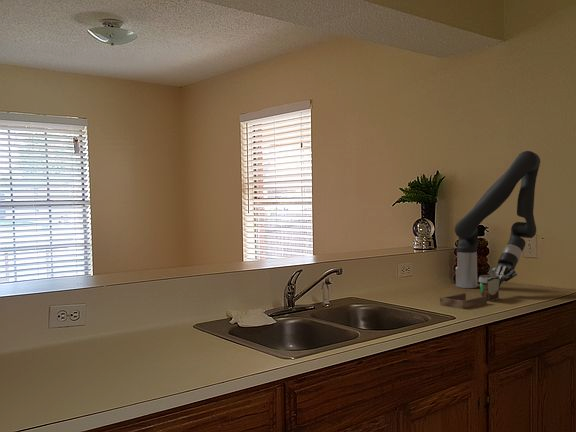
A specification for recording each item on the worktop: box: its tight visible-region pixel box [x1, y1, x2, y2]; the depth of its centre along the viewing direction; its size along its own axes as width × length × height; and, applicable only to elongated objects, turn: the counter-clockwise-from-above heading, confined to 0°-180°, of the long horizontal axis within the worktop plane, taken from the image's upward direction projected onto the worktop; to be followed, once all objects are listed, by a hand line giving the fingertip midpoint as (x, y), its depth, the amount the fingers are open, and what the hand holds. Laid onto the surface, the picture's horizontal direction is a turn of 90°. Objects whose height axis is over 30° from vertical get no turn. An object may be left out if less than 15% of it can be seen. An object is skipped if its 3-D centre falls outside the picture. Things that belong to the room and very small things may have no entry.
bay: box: [439, 292, 488, 310], centre depth 220 cm, size 11×16×3 cm
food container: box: [477, 274, 500, 302], centre depth 229 cm, size 12×6×10 cm, turn 134°
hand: (495, 287), depth 233 cm, fingers closed
